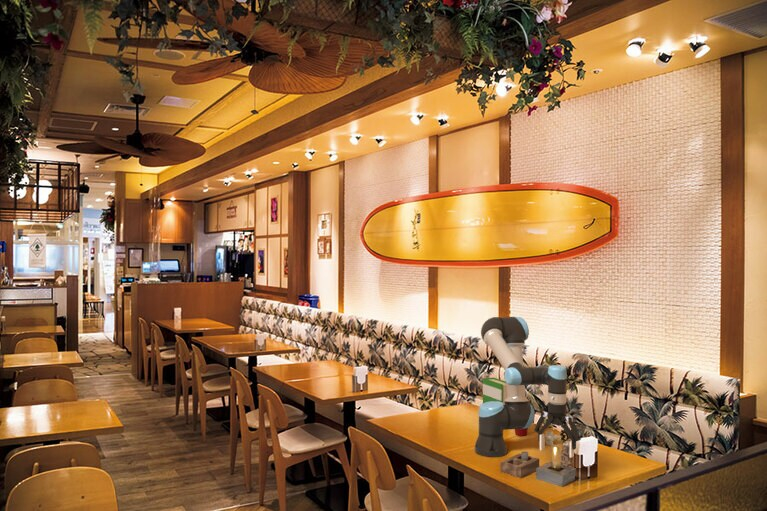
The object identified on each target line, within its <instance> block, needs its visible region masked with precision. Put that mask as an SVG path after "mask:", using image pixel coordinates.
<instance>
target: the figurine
mask: <svg viewBox="0 0 767 511" xmlns="http://www.w3.org/2000/svg"><path fill="white" fill-rule="evenodd" d="M570 441H571V439H568V440H567V441H565V442H563V445H562V446H563V447H562V449H561V465H565V466H568V467H572V468H573V457H572V458H570V457H569V455H570Z"/></svg>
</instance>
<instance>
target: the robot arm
mask: <svg viewBox="0 0 767 511" xmlns="http://www.w3.org/2000/svg"><path fill="white" fill-rule="evenodd" d="M480 329H481V330H480V335H481V339H482V341H483V343H484V344H485V345H486V346H489V348H490V349H491V352H492V353H493V354H494V355H495V357H496V358H497V360H498V362H499V363H500V365H501V367H502V368H503V370H504V375H503V376H504V381H506V383H507V398H506V399H505V400H504V401H505V405H503V403H502V402H499V401H495V402H494V401H490V402H485V403H483V402H482V404H480V406H479V407H478V436H477V439H476V441H475V445H474V452H475V453H476V454H478V455H480V456H482V457H483V456H484V457H489V458H491V457H492V458H498V457H502V456H506V455H507V453H508V452H507V451H508V450H507V449H508V448H507V446H506V442H505V438H504V431H505V430H515V429H525V428H528V429H530V428H531V427H532V425H533V423H534V420H535V408H534V406H533V405H532V403H530V400H529V399H528V398H527V397H526V389H525V388H526V386H528V385H529V386H533V385H534V386H535V385H545V386H547V391H548V392H547V401H548V403H547V411H546V410H544V411H541V412H540V417H539V419H538V421H537V423H536V425H535V427H534V429H533V432H535V433H537V442H539V450H540V451H543V450H545V433H544V432H546V431H547V429H548V428H549V427H550V425H552V426H555V425H556V426H558V427H561V428H562V430H565V432H566V433H567V435H568V437H569V438H570V439H569V440H570V455H569V457H570V458H572V457H574V453H575V450H576V449H577V442H579V441H581V440H582V438H581V436H580V433H579V430H578V428H577V426H576V424H575V421H574V420H575V419H574V416H567V383H568V381H567V379H568V375H567V368H566V367H565V366H564V365H557V364H556V365H555V364H552V365H549V366H546V365H541V364H540V365H537V366H533V367H532V366H528V367H527V366H526V367H525V366H524V359H523V358H524V357H523V356H524V355H523V347H524V346H525V344H526V342H525V341H527V340H528V338H529V335H530V332H529V331H530V329H529V326H528V323H527V322H526V320H525V319H524V318H523V317H520V316H493V317H490V318H488V319H487V320H486V321H485V322H483V324H482V326H481V328H480ZM546 417H547V418H548V420H547V421H546V422H545V424H544V425H543V423H544V421H545V419H546ZM567 422H568V423H567Z"/></svg>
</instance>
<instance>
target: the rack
mask: <svg viewBox="0 0 767 511" xmlns="http://www.w3.org/2000/svg"><path fill="white" fill-rule="evenodd" d="M538 467H540V458H539V457H538V458H537V457H534V456H530V455H529V452H528V451H525V450H523V451H521V453H519V452H518V453H517V454H515V455H513V456H510V457H508V458H506V459H504V460H501V461H500V470H499V472H500V471H501V472H500V473H502V472H504V473H503V474H505V473H507V474H506V475H508V474H510V475H509V476H512V475H513V476H512V477H515V476H516V477H515V478H518V477H519V478H518V479H522V478H524V477H526V476H528V475H529V474H532V473H534V472H536V468H538ZM521 477H522V478H521Z"/></svg>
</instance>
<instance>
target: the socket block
mask: <svg viewBox="0 0 767 511" xmlns="http://www.w3.org/2000/svg"><path fill="white" fill-rule="evenodd" d="M575 476H577V467H576V468H572V467H568V466H565V465H561V471H560V472H558V471H555V470H551V461H548V462H546V463H544V464H542V465H539V467H538V468H536V471H535V479H536V480H538V481H542V482H545V483H549V484H551V485H554V486H555V485H556V486H559V487H565V486H567V485H568V484H570V483H571V482H573V481H575V480H576V479H575Z"/></svg>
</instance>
